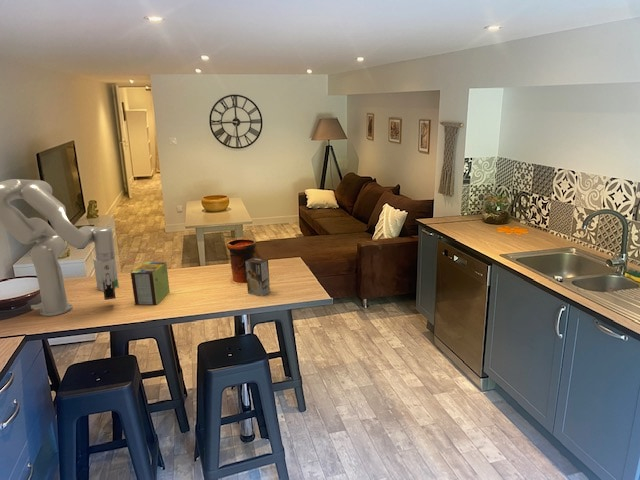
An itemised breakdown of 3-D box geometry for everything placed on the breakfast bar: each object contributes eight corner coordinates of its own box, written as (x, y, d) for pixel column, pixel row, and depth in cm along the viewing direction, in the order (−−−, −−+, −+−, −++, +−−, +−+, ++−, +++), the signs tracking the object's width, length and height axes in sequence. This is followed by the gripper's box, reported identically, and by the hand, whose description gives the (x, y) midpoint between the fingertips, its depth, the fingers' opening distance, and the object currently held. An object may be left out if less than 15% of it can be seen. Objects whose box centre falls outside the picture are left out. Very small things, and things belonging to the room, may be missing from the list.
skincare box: (103, 292, 231) (99, 261, 227) (96, 289, 235) (91, 259, 231) (119, 286, 238) (115, 256, 233) (112, 284, 241) (108, 254, 237)
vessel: (225, 277, 247) (223, 240, 242) (252, 273, 253) (250, 237, 248) (232, 286, 235) (230, 247, 229) (260, 282, 241) (259, 243, 235)
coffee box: (270, 291, 227) (269, 259, 222) (263, 296, 221) (261, 263, 217) (254, 288, 231) (252, 257, 227) (246, 293, 226) (244, 261, 221)
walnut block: (104, 300, 209) (102, 282, 207) (104, 296, 213) (102, 279, 211) (115, 298, 211) (113, 281, 209) (115, 294, 215) (113, 278, 213)
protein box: (170, 292, 229) (166, 261, 225) (156, 305, 214) (152, 272, 210) (149, 292, 230) (145, 261, 226) (134, 304, 215) (129, 272, 211)
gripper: (115, 259, 201) (120, 300, 206) (113, 249, 216) (117, 287, 220) (96, 262, 198) (100, 303, 203) (95, 251, 212) (99, 289, 217)
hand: (109, 294), depth 211 cm, fingers closed on walnut block, 4 cm apart
